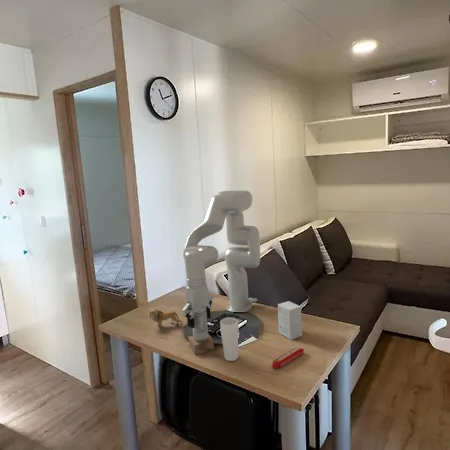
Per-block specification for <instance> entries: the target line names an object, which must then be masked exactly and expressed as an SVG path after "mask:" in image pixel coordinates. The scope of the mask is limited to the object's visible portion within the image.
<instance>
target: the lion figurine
mask: <svg viewBox="0 0 450 450" xmlns="http://www.w3.org/2000/svg"><path fill="white" fill-rule="evenodd" d="M148 314H149V316H148V317H149V319H150V320H151V321H154V322H155V323H157V326H156V327H158V328H159V329H162V326H163V325H162V324H163V321H168V320H169V319H171V321H170V325H171V324H173V323H174V322H176V323H175V326H179V325H180V323H182V320H180V319H179V316H178V313H176V311H173V310H169V311H167V312H163V311H162V310H158V309H151V310H150V311H149V312H148Z"/></svg>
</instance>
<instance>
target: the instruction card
mask: <svg viewBox="0 0 450 450" xmlns="http://www.w3.org/2000/svg"><path fill="white" fill-rule="evenodd" d="M251 336H252V337H251V338H249V339H247V338H246V339H247V340H246V339H244V340H246V341H244V342H242V343H241V344H239V345H238V348H240V347H243V346H245V345H248V344H250V343H253V342H255V341H257V340H258V339H257V338H256V337H255V336H253V335H251Z"/></svg>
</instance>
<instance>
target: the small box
mask: <svg viewBox="0 0 450 450" xmlns="http://www.w3.org/2000/svg"><path fill="white" fill-rule="evenodd" d="M277 315H278V318H277V319H278V321H277V322H278V334H281V335H283V337H285V338H287V339H289V340H290V341H291V340H295V339H297V338H300V337H302V336H303V323H302V321H303V320H302V306H300V305H298V304H296V303H294V302H291V301H290V300H289V301H283V302H282V303H278V304H277Z"/></svg>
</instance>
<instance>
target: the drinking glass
mask: <svg viewBox="0 0 450 450" xmlns="http://www.w3.org/2000/svg"><path fill="white" fill-rule="evenodd" d="M219 323H220V324H219V326H220V327H219V328H220V335H221V340H222V341H221V342H222V348H223V356H224V359H225V360H226V361H228V362H234V361H237V360H238V359H239V347H238V338H239V334H240V332H239V331H240V330H239V320H238V319H237V318H235V317H231V316H230V317H225V318H223V319H221V320H220V322H219Z"/></svg>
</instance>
